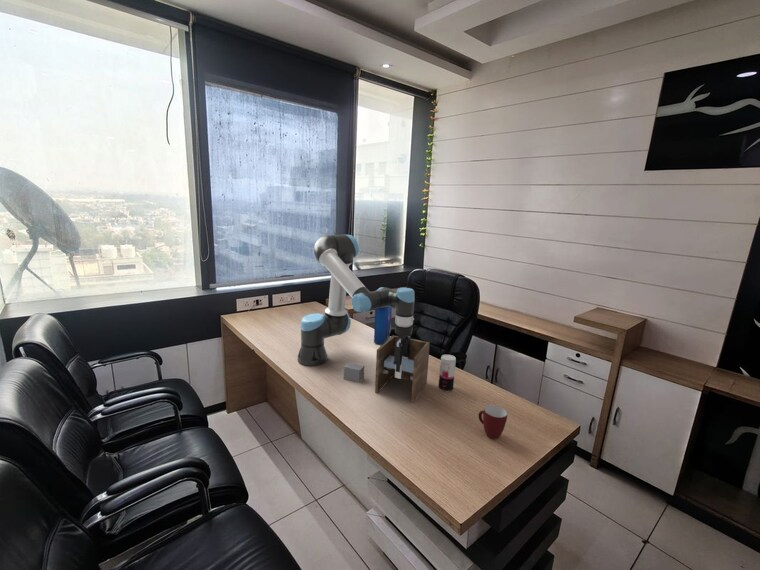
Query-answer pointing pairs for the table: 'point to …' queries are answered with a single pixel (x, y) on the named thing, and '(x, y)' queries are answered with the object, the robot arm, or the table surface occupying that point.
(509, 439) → the table surface
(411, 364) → the shelf board
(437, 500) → the table surface
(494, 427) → the mug
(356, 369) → the riser block
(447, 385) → the beverage can
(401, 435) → the table surface
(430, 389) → the table surface
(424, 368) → the bookcase frame
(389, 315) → the book
